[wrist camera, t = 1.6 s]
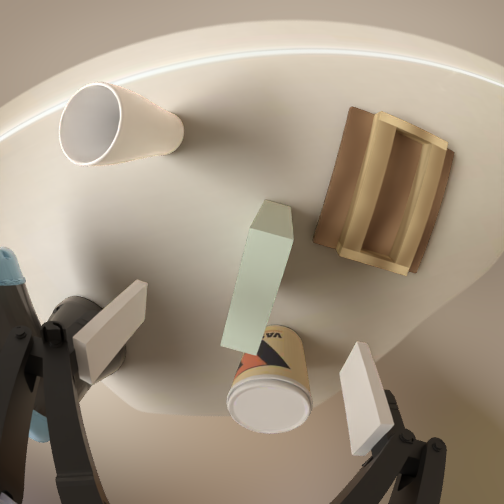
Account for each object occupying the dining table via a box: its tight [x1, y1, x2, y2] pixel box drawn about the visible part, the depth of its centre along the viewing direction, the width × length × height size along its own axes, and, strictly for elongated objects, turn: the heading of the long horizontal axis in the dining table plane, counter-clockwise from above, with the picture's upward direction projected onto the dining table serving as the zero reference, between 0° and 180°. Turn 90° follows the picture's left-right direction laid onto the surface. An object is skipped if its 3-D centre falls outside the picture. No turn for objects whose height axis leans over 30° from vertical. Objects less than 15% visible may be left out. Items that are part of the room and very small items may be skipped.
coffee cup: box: [226, 325, 313, 434], centre depth 32 cm, size 9×9×12 cm
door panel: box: [220, 200, 294, 356], centre depth 27 cm, size 3×10×14 cm, turn 166°
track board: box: [313, 106, 454, 276], centre depth 28 cm, size 14×16×4 cm
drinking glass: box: [59, 82, 184, 166], centre depth 24 cm, size 7×7×15 cm
